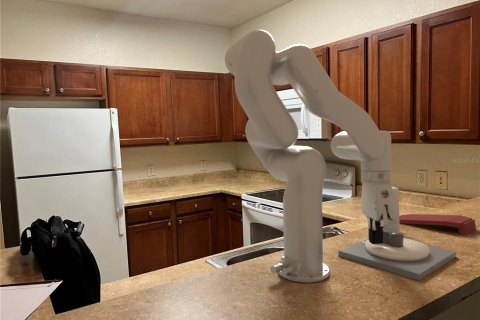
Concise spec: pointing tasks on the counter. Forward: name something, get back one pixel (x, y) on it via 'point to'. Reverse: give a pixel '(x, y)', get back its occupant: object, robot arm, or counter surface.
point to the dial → (398, 247)
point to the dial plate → (400, 267)
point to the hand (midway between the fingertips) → (376, 242)
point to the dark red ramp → (441, 221)
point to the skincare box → (394, 224)
